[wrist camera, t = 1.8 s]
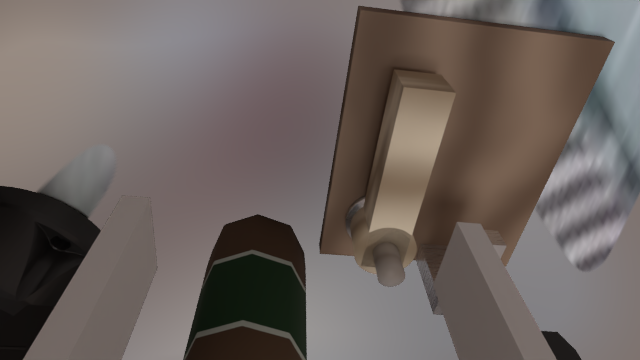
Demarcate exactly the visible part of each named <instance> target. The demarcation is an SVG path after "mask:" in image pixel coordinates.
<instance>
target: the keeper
mask: <svg viewBox="0 0 640 360" xmlns="http://www.w3.org/2000/svg"><path fill="white" fill-rule="evenodd" d="M365 197H366V195H364V196H362V197H360V198H359V199H357V200H356V201H355V202H354V203H353V204H352V205H351V206H350V207H349V209H348V211H347V213H346V218H345V223H346V229H347V232H348V234H349V236H350V237H351V230H350V223H351V220H352V218H353V216H354V214H355V213H356V212H357V211H358V210H359V209H361V208H362V207H363V206H364V202H365ZM484 231H485V232H486V234H487V236H488V238H489V240H490V241H491V243H492V245H493V247H494V248H495V250H496V252H497V254H498V256H499V257H500V259H501V257H502V255H503V253H504V251H505V248H506V246H507V245H506V244H505V242H504V240H503V239H502V237H501V235H500V234H499V232H498V231H493V230H484ZM351 238H352V237H351ZM447 247H448V246H444V245H430V244H420V246H419V249H418V252H417V255H416V261H417V265H418V267H419V271H420V274H421V277H422V280H423V283H424V286H425V289H426V293H427V296H428V299H429V302H430V305H431V308H432V311H433V314H437V315H443V312H442V309H441V306H440V304H439V301H438V298H437V295H436V292H435V289H434V286H433V284H434V282H435V279H436V276H437V274H438V271H439V268H440V266H441V263H442V260H443V258H444V255H445V252H446V250H447Z"/></svg>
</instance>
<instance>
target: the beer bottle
mask: <svg viewBox="0 0 640 360" xmlns="http://www.w3.org/2000/svg"><path fill="white" fill-rule="evenodd" d="M305 278H306V274H305V258H304V252H303V250H302V248H301V246H300V244H299V241H298V240H297V237H296V235H295V233H294V232H293V229H292V228H291V226H290V225H287V224H284V223H281V222H278V221H276V220H273V219H270V218H267V217H264V216H261V215H254V216H251V217H248V218H245V219H242V220H238V221H235V222H232V223H229V224H226V225H225V226H224V227H223V229H222V231H221V234H220V236H219V238H218V240H217V242H216V244H215V247H214V249H213V251H212V254H211V257H210V260H209V263H208V266H207V269H206V273H205V277H204V281H203V285H202V289H201V293H200V296H199V300H198V304H197V308H196V312H195V316H194V320H193V324H192V328H191V332H190V335H189V339H188V343H187V347H186V351H185V355H184V359H183V360H307V357H306V355H307V353H306V284H305V283H306V279H305Z"/></svg>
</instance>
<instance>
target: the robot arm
mask: <svg viewBox="0 0 640 360" xmlns="http://www.w3.org/2000/svg"><path fill="white" fill-rule="evenodd" d="M156 270H157V259H156V250H155V240H154V230H153V220H152V211H151V201H150V198H146V197H133V196H122V197H121V199H120V200H119V202H118V204H117V206H116V207H115V209H114V210H113V212H112V214H111V215H110V217H109V219H108V220H107V222H106V223H105V225H104V227H103V228H102V230H100V229H99V228H98V227H97V226H95V225H94V224H93V223H92V222H91V221H90V220H88V219H87V218H86V217H85V216H83V215H82V214H80V213H79V212H77V211H76V210H74V209H72V208H71V207H69V206H67V205H65V204H63V203H61V202H59V201H57V200H55V199H52V198H50V197H47V196H45V195H42V194H39V193H36V192H32V191H28V190H24V189H20V188H14V187H5V186H0V360H121V359H122V356H123V354H124V352H125V349H126V346H127V344H128V342H129V339H130V336H131V334H132V331H133V329H134V326H135V323H136V321H137V319H138V316H139V314H140V311H141V308H142V306H143V303H144V300H145V298H146V296H147V293H148V290H149V288H150V285H151V283H152V280H153V278H154V275H155V273H156ZM433 286H434V289H435V292H436V295H437V298H438V301H439V304H440V306H441V309H442V312H443V315H444V318H445V321H446V324H447V327H448V329H449V332H450V335H451V338H452V341H453V344H454V347H455V349H456V353H457V355H458V358H459V360H581V358H580V356H579V355H578V353H577V352H576V350H575V349H574V348H573V347H572V346H571V345H570V344H569V343H568V342H567V341H566V340H565V339H564V338H563V337H562V336H561V335H560V334H559V333H558V332H547V331H540V329H539V327H538V325H537V323H536V322H535V320H534V318H533V316H532V315H531V313H530V311H529V309H528V308H527V306H526V304H525V302H524V300H523V299H522V297H521V295H520V293H519V291H518V290H517V288H516V286H515V284H514V282H513V281H512V279H511V277H510V275H509V274H508V272H507V270H506V268H505V266H504V265H503V263H502V261H501V259H500V257H499V256H498V254H497V252H496V250H495V248H494V247H493V245H492V243H491V241H490V240H489V238H488V236H487V234H486V232H485V231H484V229H483V227H482V225H481V224H477V223H465V222H457V223H456V226H455V228H454V231H453V234H452V236H451V239H450V242H449V244H448V247H447V250H446V252H445V255H444V258H443V260H442V263H441V266H440V268H439V271H438V274H437V276H436V279H435V282H434V284H433Z"/></svg>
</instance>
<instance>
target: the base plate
mask: <svg viewBox="0 0 640 360" xmlns="http://www.w3.org/2000/svg"><path fill="white" fill-rule="evenodd" d="M614 43H615V42H614V41H612V40H609V39H607V38H605V37H600V36H592V35H584V34H576V33H569V32H561V31H553V30H545V29H537V28H529V27H521V26H514V25H506V24H498V23H490V22H482V21H474V20H466V19H459V18H451V17H443V16H435V15H427V14H419V13H411V12H403V11H396V10H388V9H380V8H372V7H364V6H358V11H357V17H356V23H355V29H354V36H353V42H352V48H351V54H350V60H349V66H348V72H347V78H346V85H345V90H344V97H343V103H342V109H341V115H340V122H339V127H338V133H337V140H336V145H335V151H334V158H333V164H332V170H331V176H330V182H329V188H328V194H327V201H326V207H325V212H324V219H323V225H322V231H321V237H320V243H319V246H320V254H333V255H347V256H354V250H353V244H352V238H351V237H350V236H349V234H348V232H347V229H346V223H345V218H346V213H347V211H348V209H349V207H350V206H351V205H352V204H353V203H354V202H355V201H356V200H357V199H359V198H360V197H362V196H364V195H366V193H367V188H368V184H369V179H370V175H371V170H372V166H373V161H374V157H375V152H376V148H377V143H378V139H379V134H380V130H381V125H382V121H383V116H384V112H385V107H386V103H387V98H388V94H389V89H390V85H391V80H392V76H393V71H394V69H395V70H404V71H413V72H421V73H430V74H439V75H442V76H443V77H444V79H445V80H446V81H447V82H448V83H449V85H450V86H451V87H452V88H453V90H454V91H455V92H456V95H455V98H454V101H453V105H452V108H451V111H450V114H449V118H448V121H447V124H446V127H445V130H444V134H443V137H442V140H441V143H440V147H439V150H438V153H437V156H436V159H435V163H434V166H433V169H432V172H431V175H430V179H429V182H428V185H427V188H426V192H425V195H424V198H423V201H422V204H421V208H420V211H419V214H418V217H417V221H416V224H415V227H414V230H413V236H414V239H415V242H416V245H417V252H418V249H419V246H420V244H430V245H444V246H448V244H449V242H450V239H451V236H452V234H453V231H454V228H455V226H456V223H457V222H465V223H477V224H481V225H482V227H483V229H484V230H493V231H498V232H499V234H500V235H501V237H502V239H503V240H504V242H505V244H506V245H507V246H506V248H505V251H504V253H503V255H502V257H501V261H502V263H503V265H504V266H506V265H507V263H508V261H509V259H510V257H511V255H512V253H513V251H514V249H515V247H516V245H517V242H518V240H519V238H520V236H521V234H522V232H523V230H524V228H525V226H526V224H527V222H528V220H529V218H530V216H531V213H532V212H533V210H534V208H535V205H536V203H537V201H538V199H539V197H540V195H541V193H542V191H543V189H544V187H545V185H546V183H547V181H548V179H549V177H550V175H551V173H552V171H553V168H554V166H555V164H556V162H557V160H558V158H559V156H560V154H561V152H562V150H563V148H564V146H565V144H566V142H567V140H568V138H569V136H570V133H571V131H572V129H573V127H574V125H575V123H576V121H577V119H578V117H579V115H580V113H581V111H582V109H583V107H584V105H585V103H586V101H587V99H588V96H589V94H590V92H591V90H592V88H593V86H594V84H595V82H596V80H597V78H598V76H599V74H600V72H601V70H602V68H603V66H604V64H605V61H606V59H607V57H608V55H609V53H610V51H611V49H612V47H613V45H614ZM417 252H416V255H417ZM416 255H415V257H414V259H413V260H416Z"/></svg>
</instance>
